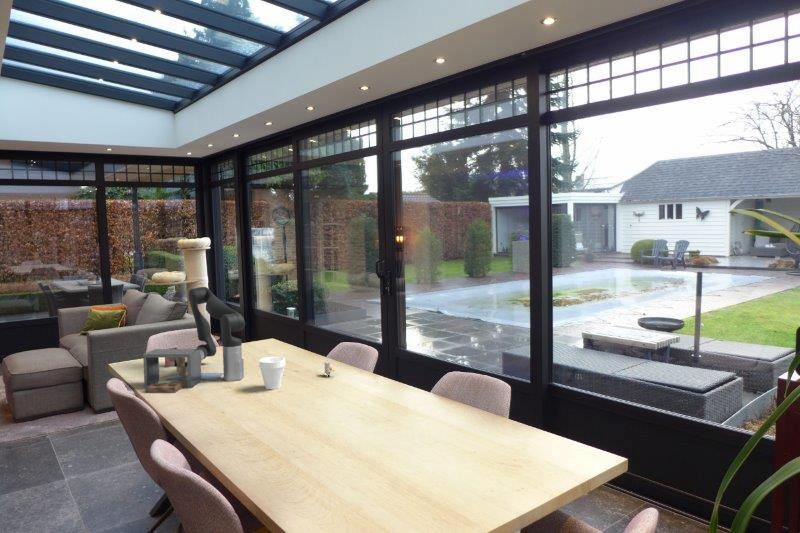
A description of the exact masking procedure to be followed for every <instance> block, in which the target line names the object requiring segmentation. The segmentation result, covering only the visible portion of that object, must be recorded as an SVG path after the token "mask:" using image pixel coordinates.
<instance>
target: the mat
mask: <svg viewBox="0 0 800 533" xmlns="http://www.w3.org/2000/svg"><path fill="white" fill-rule="evenodd" d="M222 375H223V376H224V372H201V381H202V380H203V381H216V380H218V379H220V378H221V377H223V376H222ZM165 380H166V381H185V380H186V381H188V375H187V376H177V372H176V373H174V374H173V375H171V376H168V378H167V377H166V379H165Z"/></svg>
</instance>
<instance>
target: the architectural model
mask: <svg viewBox="0 0 800 533" xmlns="http://www.w3.org/2000/svg"><path fill="white" fill-rule="evenodd" d="M323 364H324V374H325V373H326V374H327V375H329V374H330V375H331V373H333V372H335V373H336V370H335V369H334V368H332V367H331V366H330V365H331V362H327V361H324V363H323ZM330 375H329V376H330Z"/></svg>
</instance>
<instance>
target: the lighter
mask: <svg viewBox="0 0 800 533" xmlns="http://www.w3.org/2000/svg"><path fill="white" fill-rule="evenodd" d="M168 349H178V347H171V348H168ZM175 359H176V357H164V368H171V366H172V367H175V361H174V360H175Z"/></svg>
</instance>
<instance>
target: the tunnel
mask: <svg viewBox="0 0 800 533" xmlns="http://www.w3.org/2000/svg"><path fill="white" fill-rule="evenodd" d="M142 357H143V360H142V361H143V379H144V381H143V382H144V383H143V384H144V389H146V387H147V386H149V385H151V384H153V383H157V382H158V383H159V381H160V360H159V358H165V357H187V369H188V380H187V388H188V389H192V388H194V387H195V386H196V385H198V384H200V383H202V380H201V373H202V365H201V363H202V361H201V357H200V349H196V348H177V349H169V348H154V349H152V350H150V351H148V352H145V353H143V354H142Z"/></svg>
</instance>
